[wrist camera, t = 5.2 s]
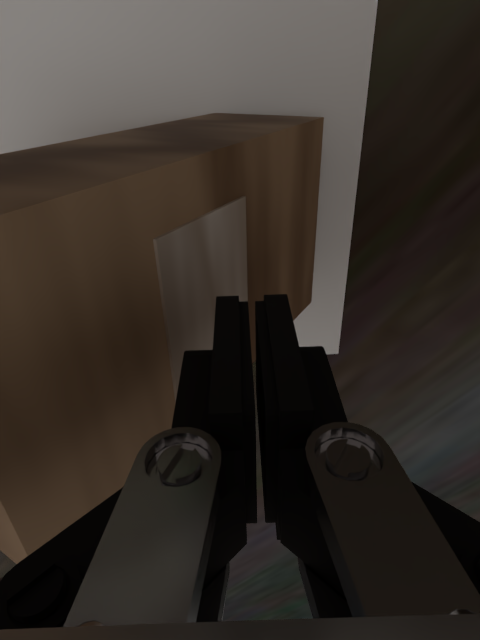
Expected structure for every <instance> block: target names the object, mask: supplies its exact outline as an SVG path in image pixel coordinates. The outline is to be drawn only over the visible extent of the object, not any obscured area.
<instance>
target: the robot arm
mask: <svg viewBox="0 0 480 640" xmlns="http://www.w3.org/2000/svg"><path fill="white" fill-rule="evenodd" d="M255 333H256V396H257V412H258V426H259V440H260V454H261V468H262V482H263V496H264V510H265V522H266V523H276V533H277V540H281V543H282V544H283V545H284V546H285V547H287V548H288V549H289V550H290V551H291V552H293V553H294V554H295V555H296V556H297V557H298V565H299V571H300V574H301V578H302V581H303V585H304V589H305V592H306V596H307V599H308V603H309V606H310V610H311V613H312V617H313V619H284V620H254V621H223V622H222V617H223V611H224V604H225V598H226V591H227V584H228V578H229V571H230V566H229V561H230V560H231V559H232V558H233V557H234V556H235V555H236V554H237V553H238V552H239V551H240V550H241V549H242V548H243V547H244V546H245V545H246V544H247V531H246V523H257V490H256V427H255V401H254V385H253V370H252V354H251V339H250V323H249V308H248V301H241V302H239V296H216V307H215V322H214V336H213V350H189V351H185V352H184V355H183V361H182V367H181V373H180V379H179V385H178V391H177V397H176V403H175V409H174V415H173V421H172V427H171V429H168V430H164V431H162V432H160V433H158V434H157V435H155V436H153V437H152V438H150V439H149V440H148V441H147V442H146V443H145V444H144V445H143V446H142V448H141V449H140V451H139V452H138V454H137V456H136V458H135V461H134V463H133V465H132V468H131V470H130V472H129V475H128V477H127V479H126V482H125V484H124V486H123V487H122V488H121V489H120V490H118V491H117V492H116V493H114V494H113V495H111V496H110V497H109V498H107V499H106V500H104V501H103V502H102V503H100V504H99V505H98V506H96V507H95V508H93V509H92V510H91V511H89V512H88V513H87V514H85V515H84V516H82V517H81V518H80V519H78V520H77V521H75V522H74V523H73V524H71V525H70V526H69V527H67V528H66V529H64V530H63V531H62V532H60V533H59V534H58V535H56V536H55V537H53V538H52V539H51V540H49V541H48V542H46V543H45V544H44V545H42V546H41V547H40V548H38V549H37V550H35V551H34V552H33V553H31V554H30V555H28V556H27V557H26V558H24V559H23V560H22V561H20V562H19V563H18V564H17V565H16V566H14V567H13V568H12V569H11V570H10V571H9V572H8V573H7V574H5V576H4V577H3V578H0V640H480V522H478V521H477V520H475V519H473V518H472V517H470V516H468V515H466V514H465V513H463V512H461V511H460V510H458V509H456V508H455V507H453V506H451V505H450V504H448V503H446V502H445V501H443V500H441V499H439V498H438V497H436V496H434V495H433V494H431V493H429V492H428V491H426V490H424V489H423V488H421V487H419V486H418V485H416V484H414V483H413V482H411V481H410V479H409V478H408V476H407V474H406V473H405V471H404V469H403V468H402V466H401V464H400V463H399V461H398V459H397V458H396V456H395V454H394V453H393V451H392V450H391V448H390V446H389V445H388V444H387V443H386V441H385V440H384V439H383V438H382V437H381V436H380V435H378V434H377V433H376V432H374V431H373V430H371V429H369V428H367V427H364V426H362V425H360V424H355V423H350V422H348V421H347V418H346V415H345V412H344V409H343V406H342V402H341V399H340V396H339V393H338V390H337V387H336V384H335V380H334V377H333V374H332V371H331V368H330V365H329V362H328V358H327V355H326V352H325V350H324V347H322V346H309V347H299V343H298V339H297V335H296V331H295V326H294V322H293V318H292V313H291V309H290V305H289V301H288V296H287V294H272V295H264V301H255Z"/></svg>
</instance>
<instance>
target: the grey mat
mask: <svg viewBox="0 0 480 640" xmlns="http://www.w3.org/2000/svg"><path fill="white" fill-rule="evenodd" d="M377 4H378V0H0V154H4V153H9V152H14V151H19V150H24V149H30V148H35V147H40V146H45V145H50V144H56V143H61V142H66V141H71V140H76V139H82V138H87V137H92V136H97V135H102V134H108V133H113V132H118V131H123V130H128V129H134V128H139V127H144V126H149V125H154V124H160V123H165V122H170V121H175V120H180V119H186V118H191V117H196V116H201V115H207V114H212V113H231V114H257V115H282V116H308V117H324V124H323V138H322V153H321V168H320V183H319V197H318V212H317V227H316V242H315V256H314V271H313V286H312V301H311V303H310V304H309V305H308V306H307V307H306V308H305V309H304V310H303V311H302V312H301V313H300V315H299V316H298V317H297V318H296V319H295V320H294V321H293V322H294V326H295V331H296V335H297V339H298V343H299V347H309V346H322V347H324V350H325V352H326V354H338V351H339V342H340V333H341V324H342V315H343V306H344V297H345V289H346V280H347V271H348V262H349V253H350V244H351V235H352V226H353V217H354V208H355V199H356V191H357V182H358V173H359V164H360V155H361V146H362V137H363V128H364V119H365V110H366V102H367V93H368V84H369V75H370V66H371V57H372V48H373V39H374V30H375V21H376V12H377Z"/></svg>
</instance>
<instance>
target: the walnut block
mask: <svg viewBox="0 0 480 640" xmlns="http://www.w3.org/2000/svg"><path fill="white" fill-rule="evenodd" d="M323 124H324V117H308V116H282V115H257V114H231V113H212V114H207V115H201V116H196V117H191V118H186V119H180V120H175V121H170V122H165V123H160V124H154V125H149V126H144V127H139V128H134V129H128V130H123V131H118V132H113V133H108V134H102V135H97V136H92V137H87V138H82V139H76V140H71V141H66V142H61V143H56V144H50V145H45V146H40V147H35V148H30V149H24V150H19V151H14V152H9V153H4V154H0V550H1V551H2V552H3V553H4V554H5V555H7V556H8V557H9V558H10V559H11V560H13V561H14V562H15V563H16V564H18V563H19V562H20V561H22V560H23V559H24V558H26V557H27V556H28V555H30V554H31V553H33V552H34V551H35V550H37V549H38V548H40V547H41V546H42V545H44V544H45V543H46V542H48V541H49V540H51V539H52V538H53V537H55V536H56V535H58V534H59V533H60V532H62V531H63V530H64V529H66V528H67V527H69V526H70V525H71V524H73V523H74V522H75V521H77V520H78V519H80V518H81V517H82V516H84V515H85V514H87V513H88V512H89V511H91V510H92V509H93V508H95V507H96V506H98V505H99V504H100V503H102V502H103V501H104V500H106V499H107V498H109V497H110V496H111V495H113V494H114V493H116V492H117V491H118V490H120V489H121V488H122V487H123V486H124V484H125V482H126V479H127V477H128V475H129V472H130V470H131V468H132V465H133V463H134V461H135V458H136V456H137V454H138V452H139V451H140V449H141V448H142V446H143V445H144V444H145V443H146V442H147V441H148V440H149V439H150V438H152V437H153V436H155V435H157V434H158V433H160V432H162V431H164V430H168V429H171V427H172V421H173V415H174V409H175V403H176V397H177V391H178V385H179V379H180V373H181V367H182V361H183V355H184V352H185V351H189V350H213V336H214V322H215V307H216V296H239V302H241V301H248V308H249V323H250V339H251V354H252V364H253V363H254V362H255V361H256V333H255V301H264V295H272V294H287V296H288V301H289V305H290V309H291V313H292V318H293V321H294V320H295V319H296V318H297V317H298V316H299V315H300V313H301V312H302V311H303V310H304V309H305V308H306V307H307V306H308V305H309V304H310V303H311V301H312V286H313V271H314V256H315V242H316V227H317V212H318V197H319V183H320V168H321V153H322V138H323Z"/></svg>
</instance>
